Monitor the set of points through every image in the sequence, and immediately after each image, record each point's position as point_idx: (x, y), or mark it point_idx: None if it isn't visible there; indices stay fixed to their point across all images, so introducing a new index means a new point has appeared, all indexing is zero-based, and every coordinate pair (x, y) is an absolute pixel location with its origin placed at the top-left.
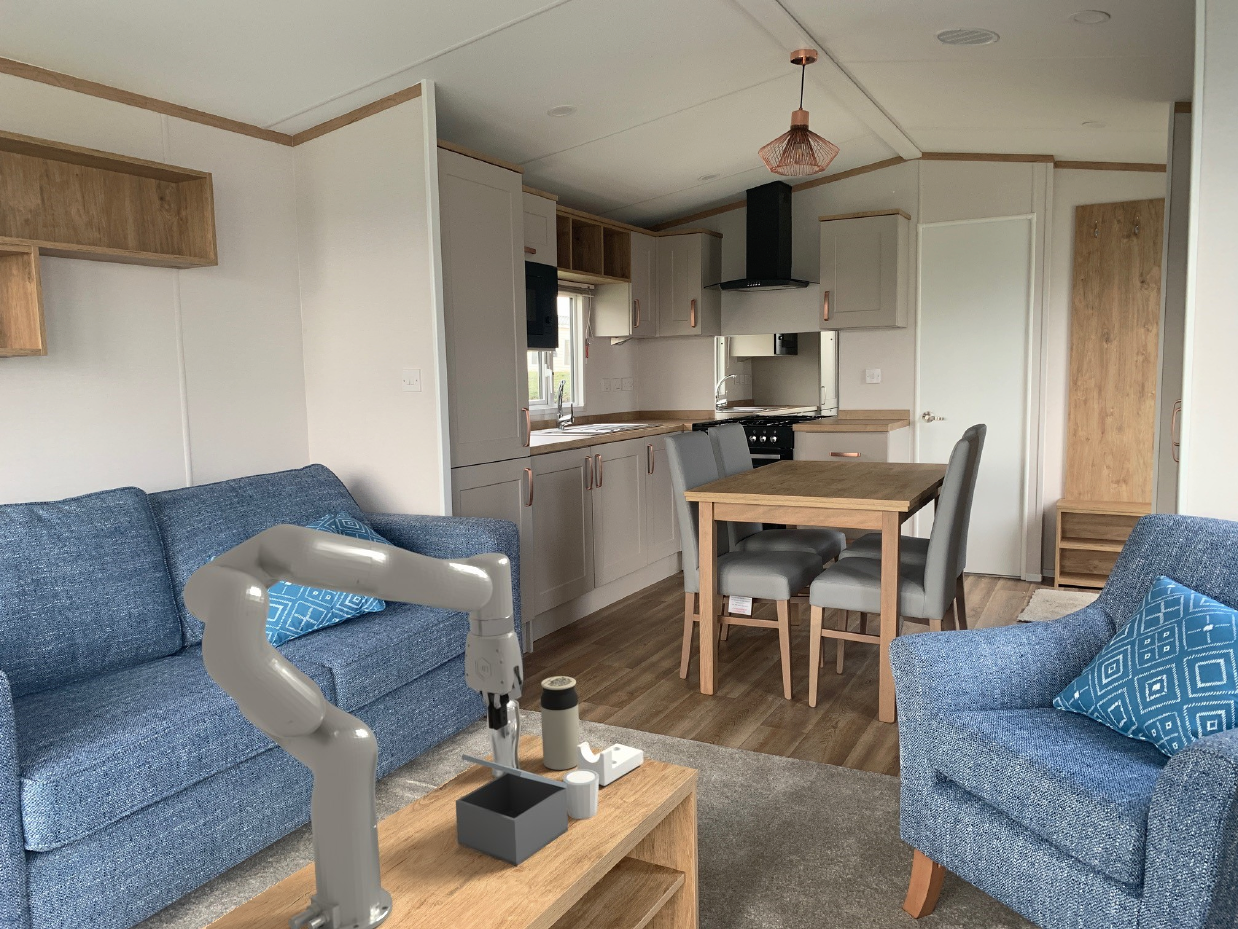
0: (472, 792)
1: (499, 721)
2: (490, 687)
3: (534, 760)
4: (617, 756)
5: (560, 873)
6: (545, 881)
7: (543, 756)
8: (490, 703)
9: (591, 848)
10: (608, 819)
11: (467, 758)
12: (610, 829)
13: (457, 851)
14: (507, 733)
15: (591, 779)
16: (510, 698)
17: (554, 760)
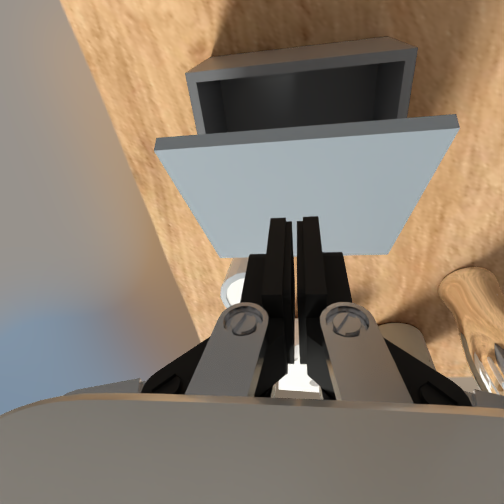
0: (400, 118)
1: (259, 258)
2: (167, 466)
3: (442, 331)
4: (298, 370)
5: (133, 94)
6: (128, 54)
7: (418, 338)
8: (319, 326)
9: (163, 186)
10: (211, 259)
11: (423, 123)
12: (186, 240)
13: (366, 10)
14: (483, 344)
15: (230, 298)
16: (123, 391)
17: (390, 335)
